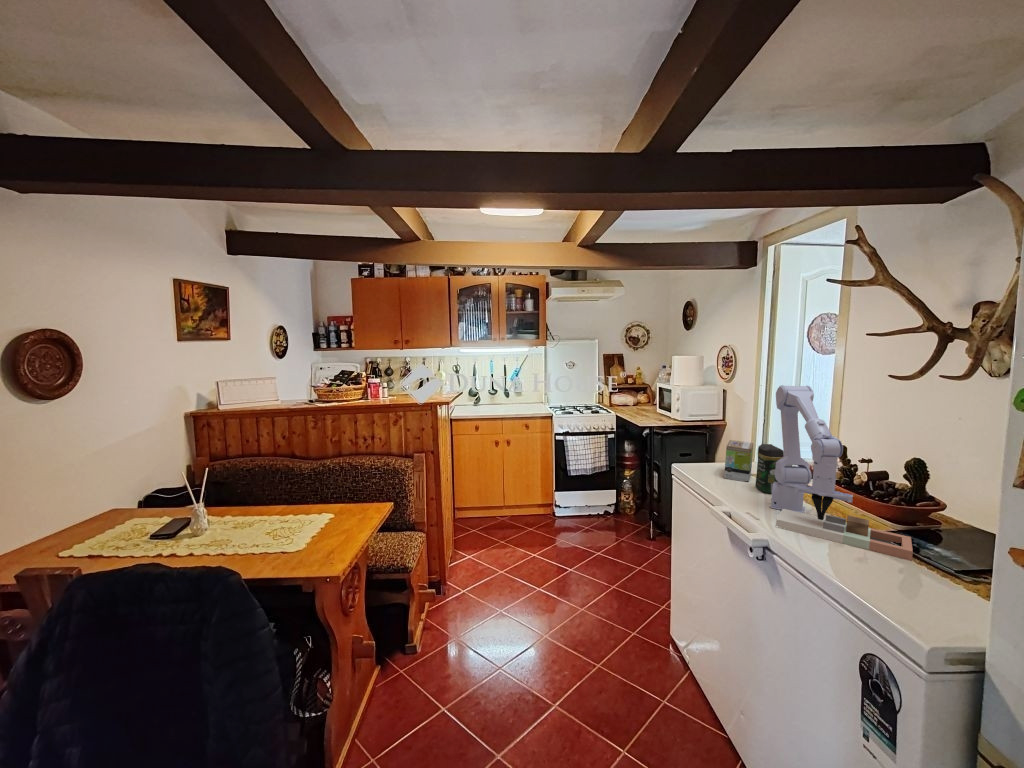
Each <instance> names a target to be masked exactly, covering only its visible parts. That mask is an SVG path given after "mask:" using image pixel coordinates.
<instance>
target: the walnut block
mask: <svg viewBox="0 0 1024 768" xmlns="http://www.w3.org/2000/svg"><path fill="white" fill-rule="evenodd" d="M846 523H847V525H846V532H850V533H854V534H858V535H863V536H867V537H868V528H869V523H870V520H869V519H866V518H862V517H857V516H852V515H847V518H846Z"/></svg>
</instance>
